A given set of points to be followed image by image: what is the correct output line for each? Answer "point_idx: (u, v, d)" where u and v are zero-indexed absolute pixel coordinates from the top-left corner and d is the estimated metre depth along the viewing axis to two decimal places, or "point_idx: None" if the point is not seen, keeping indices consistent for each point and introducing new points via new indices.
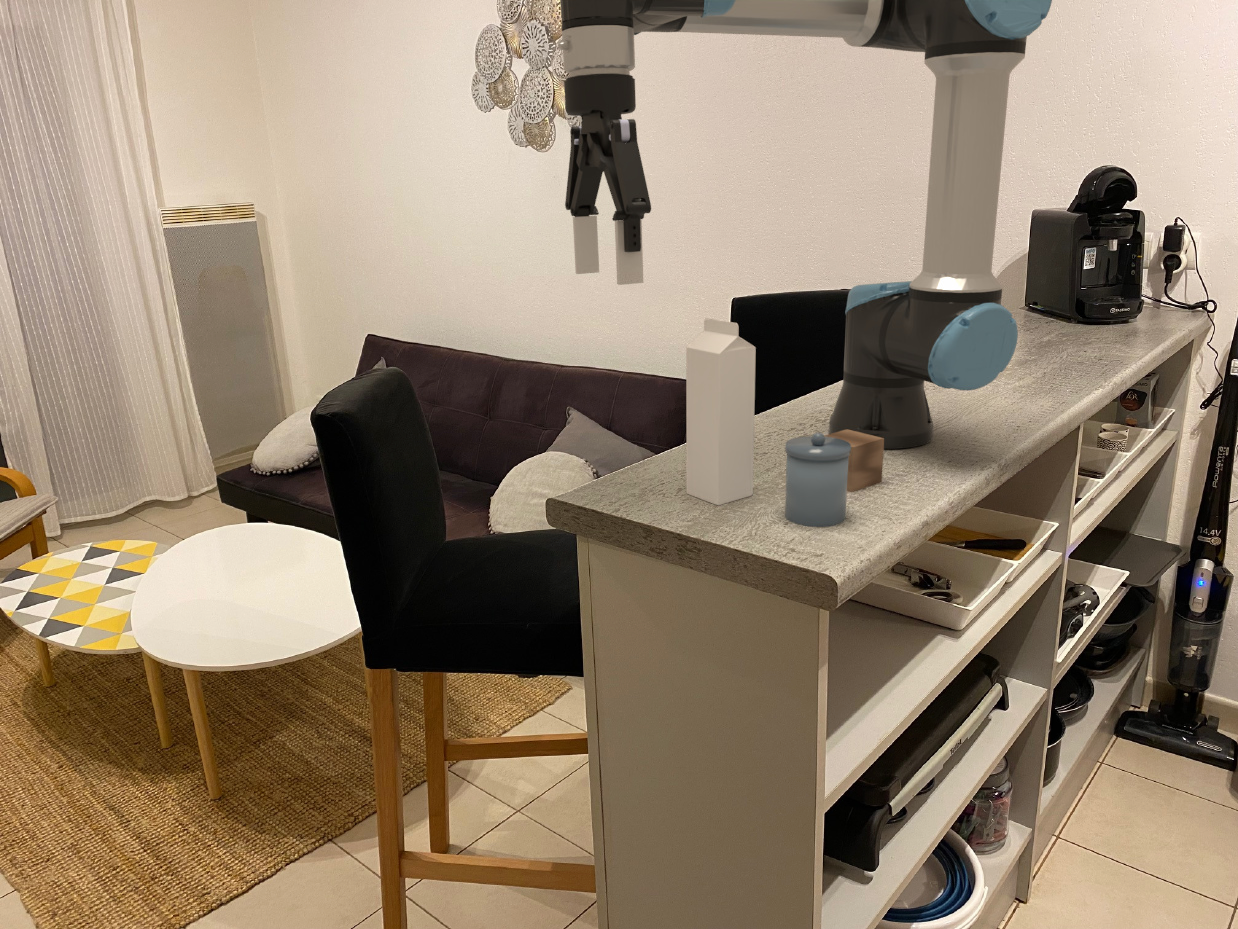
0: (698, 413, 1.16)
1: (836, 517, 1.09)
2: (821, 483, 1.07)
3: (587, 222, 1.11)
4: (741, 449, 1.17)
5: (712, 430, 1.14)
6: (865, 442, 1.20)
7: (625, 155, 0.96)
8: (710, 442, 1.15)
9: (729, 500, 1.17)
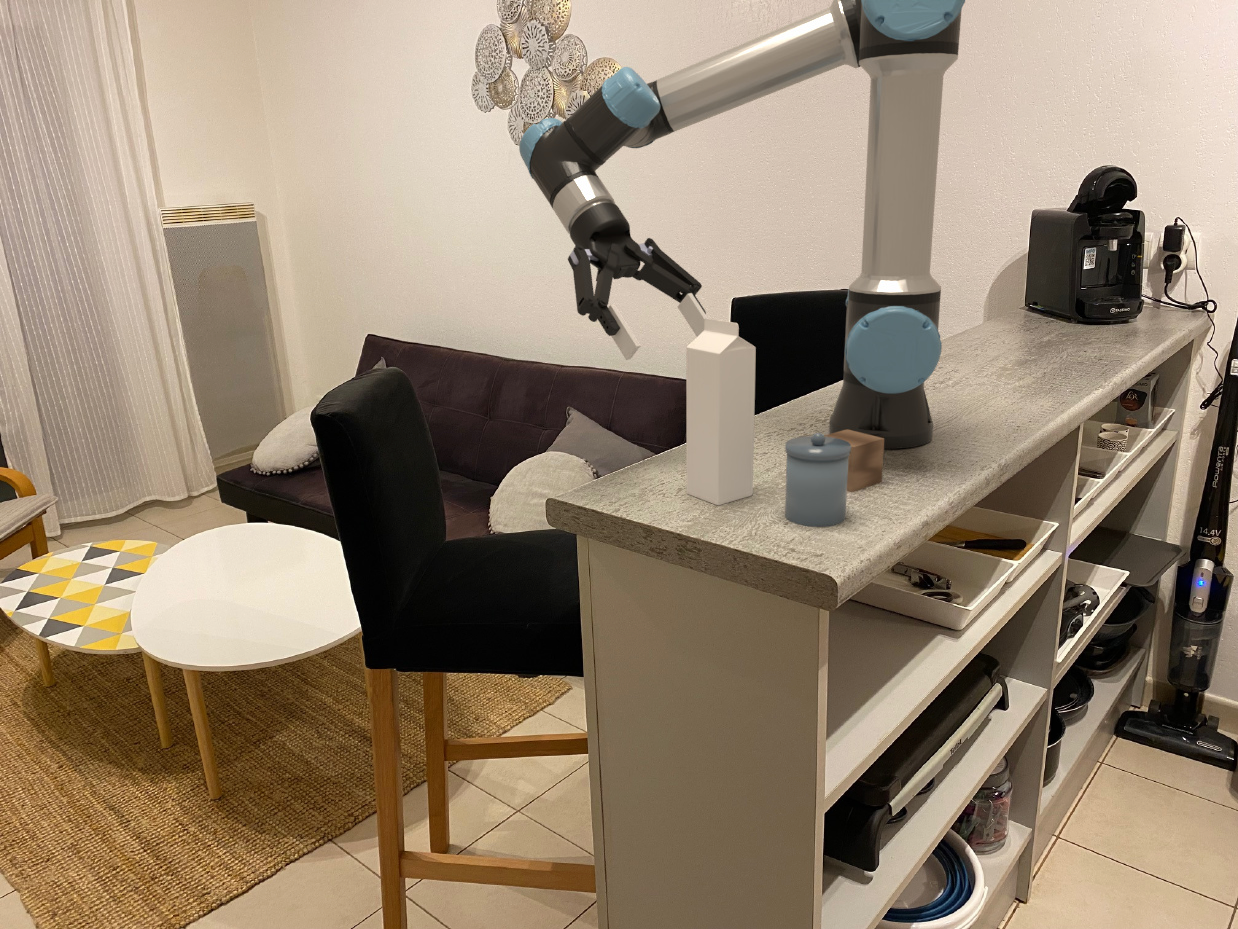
0: (698, 413, 1.16)
1: (836, 517, 1.09)
2: (821, 483, 1.07)
3: (685, 303, 1.26)
4: (741, 449, 1.17)
5: (712, 429, 1.14)
6: (865, 442, 1.20)
7: (576, 274, 1.20)
8: (710, 442, 1.15)
9: (729, 500, 1.17)
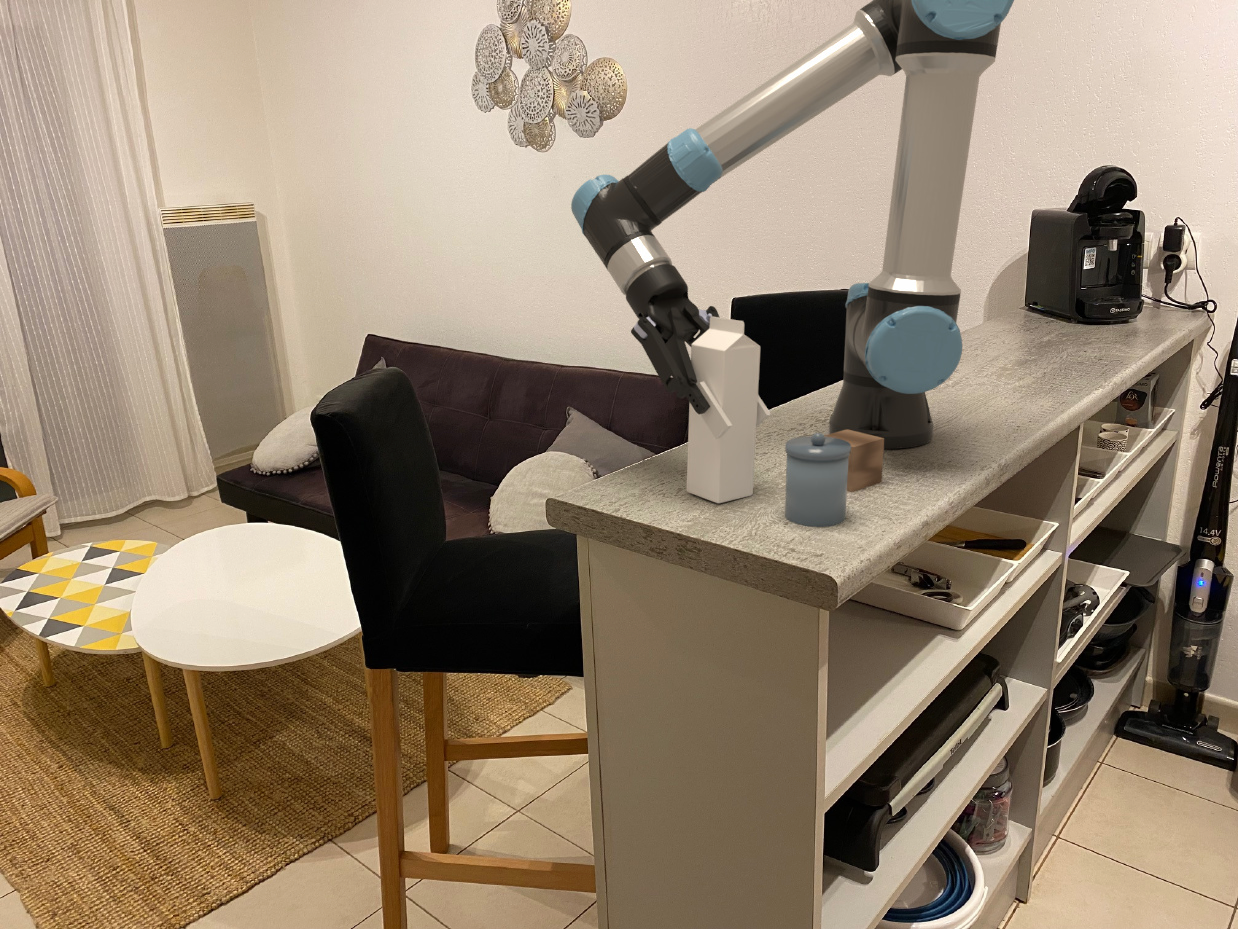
0: None
1: (836, 517, 1.09)
2: (821, 483, 1.07)
3: None
4: (743, 448, 1.17)
5: None
6: (865, 442, 1.20)
7: (649, 350, 1.16)
8: (712, 440, 1.15)
9: (729, 499, 1.17)
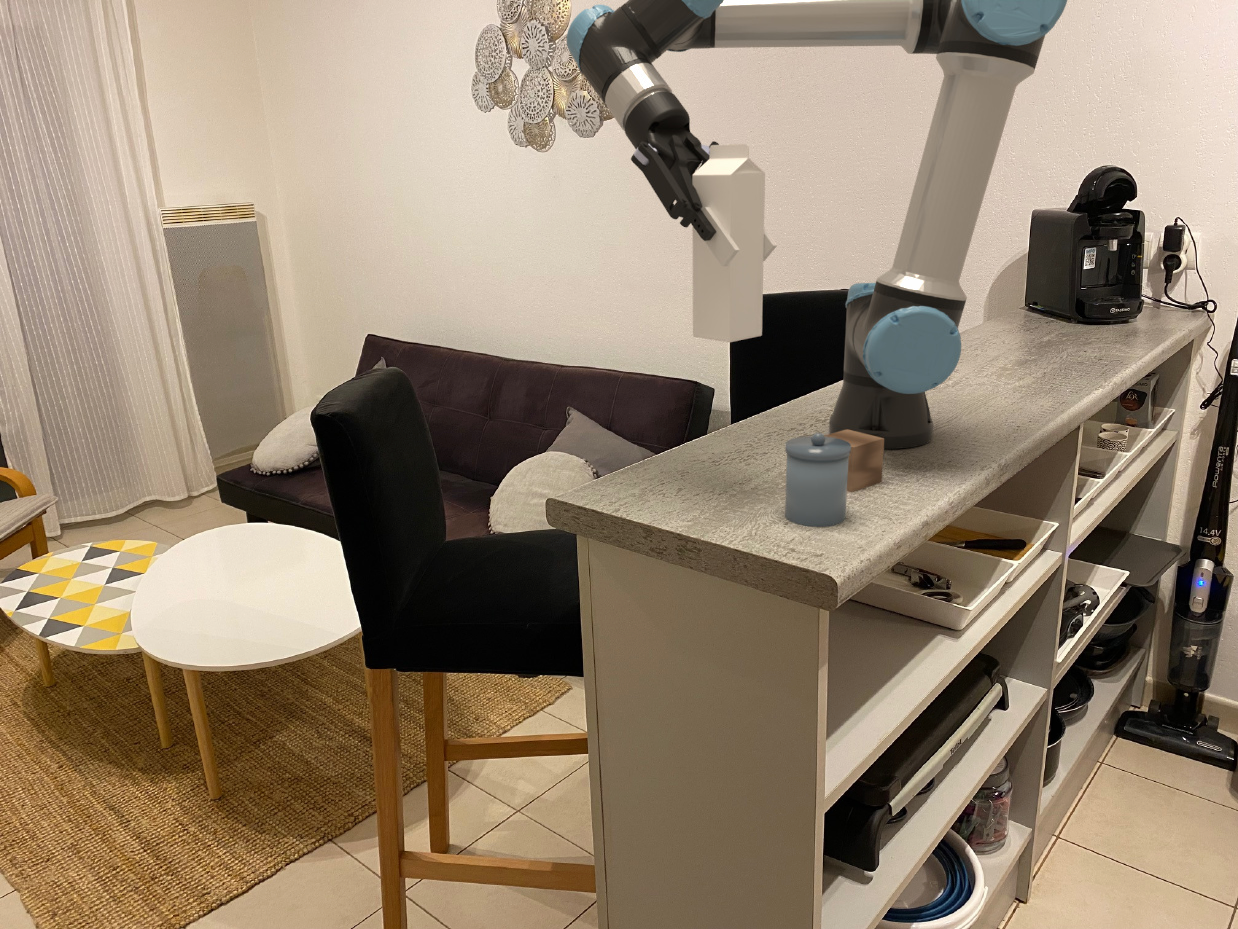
0: (706, 244, 1.10)
1: (836, 517, 1.09)
2: (821, 483, 1.07)
3: None
4: (751, 284, 1.12)
5: None
6: (865, 442, 1.20)
7: (651, 176, 1.10)
8: (719, 274, 1.10)
9: (740, 338, 1.12)
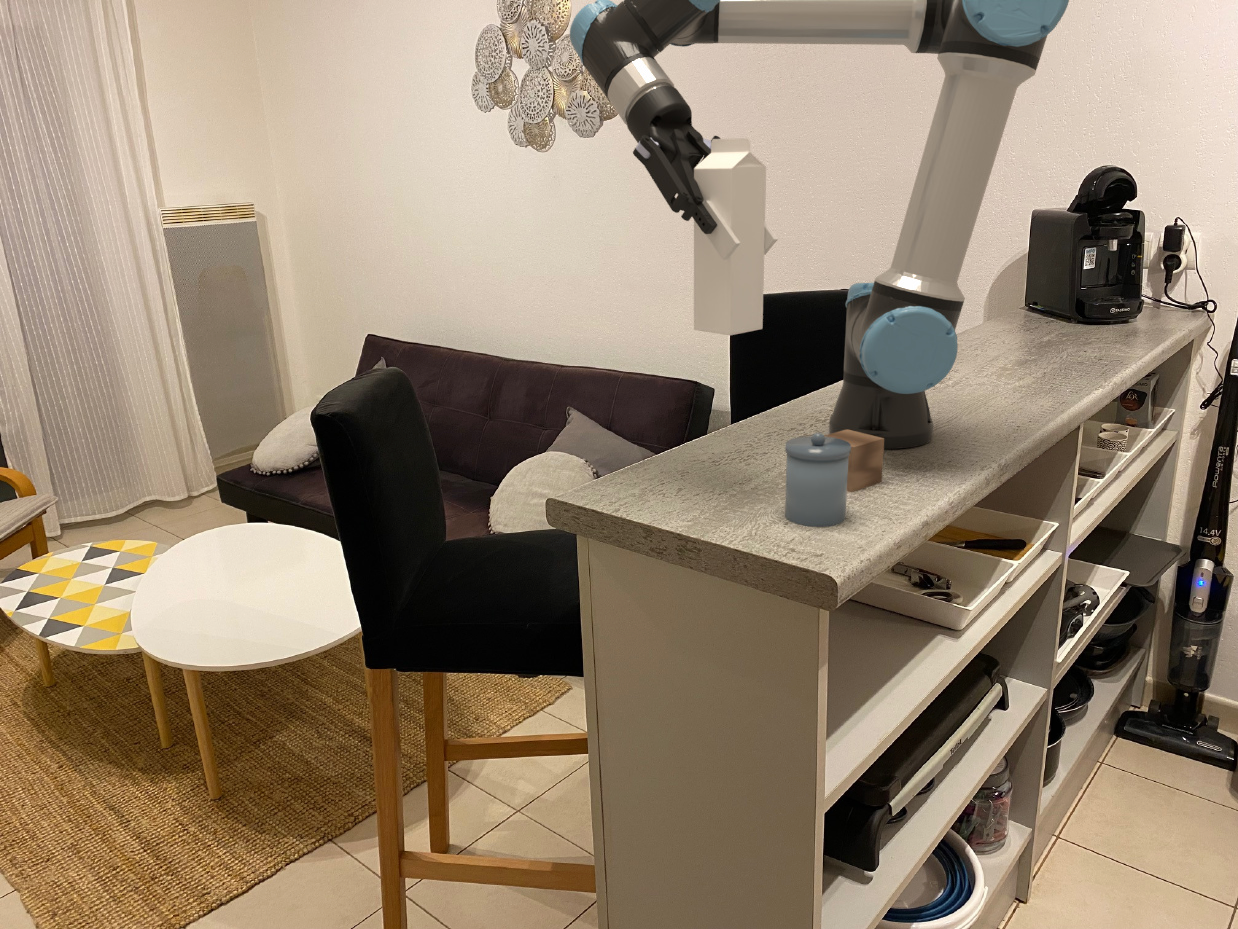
0: (707, 238, 1.11)
1: (836, 517, 1.09)
2: (821, 483, 1.07)
3: None
4: (752, 277, 1.12)
5: None
6: (865, 442, 1.20)
7: (653, 169, 1.11)
8: (720, 268, 1.11)
9: (740, 331, 1.13)
